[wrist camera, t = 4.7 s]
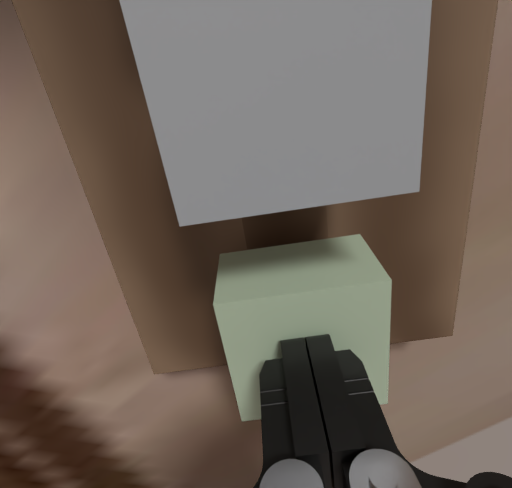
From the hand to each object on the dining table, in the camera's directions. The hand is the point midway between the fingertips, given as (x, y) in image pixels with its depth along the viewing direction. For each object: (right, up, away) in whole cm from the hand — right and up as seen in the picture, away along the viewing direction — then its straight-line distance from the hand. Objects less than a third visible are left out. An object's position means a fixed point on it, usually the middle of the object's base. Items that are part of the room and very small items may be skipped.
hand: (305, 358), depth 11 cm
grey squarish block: (-1, +9, 0) cm, 9 cm away
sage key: (0, +2, +5) cm, 6 cm away
